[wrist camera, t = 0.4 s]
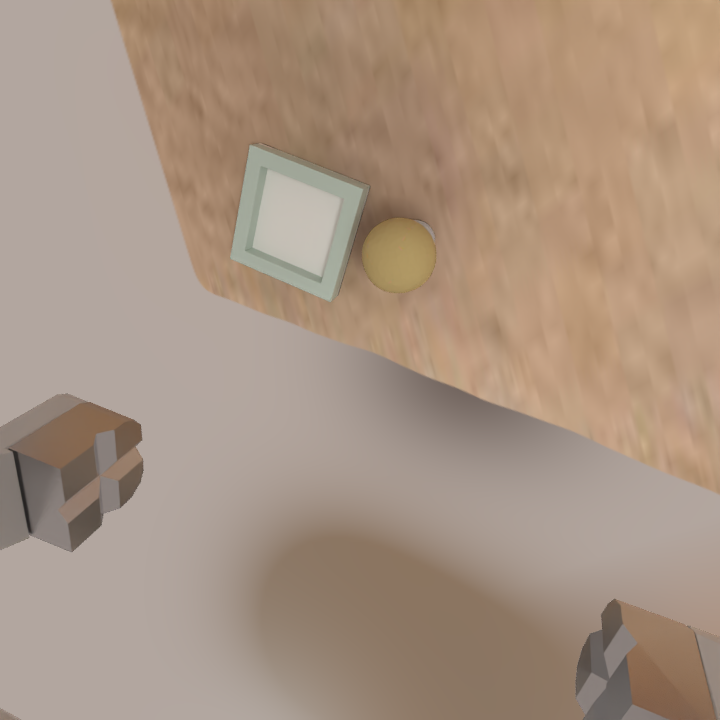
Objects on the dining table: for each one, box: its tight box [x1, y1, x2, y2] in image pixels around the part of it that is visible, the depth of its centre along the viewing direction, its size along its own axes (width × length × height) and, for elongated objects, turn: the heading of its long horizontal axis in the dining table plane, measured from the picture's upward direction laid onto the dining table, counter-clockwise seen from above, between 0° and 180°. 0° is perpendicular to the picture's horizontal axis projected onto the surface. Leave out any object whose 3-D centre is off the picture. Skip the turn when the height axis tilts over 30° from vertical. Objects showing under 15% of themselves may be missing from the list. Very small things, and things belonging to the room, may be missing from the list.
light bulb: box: [362, 218, 436, 293], centre depth 48 cm, size 6×6×10 cm
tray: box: [230, 143, 370, 302], centre depth 54 cm, size 12×12×2 cm
